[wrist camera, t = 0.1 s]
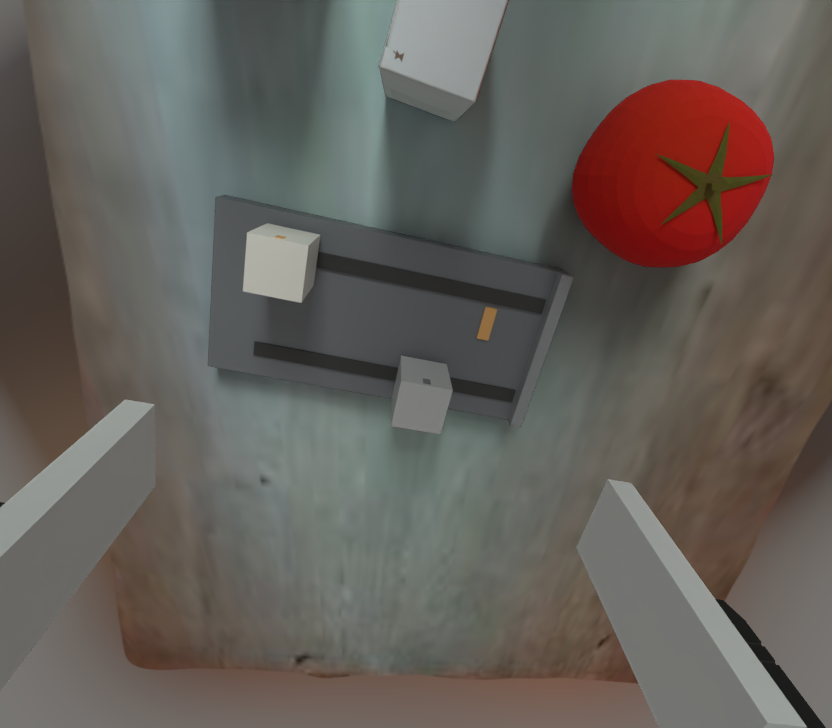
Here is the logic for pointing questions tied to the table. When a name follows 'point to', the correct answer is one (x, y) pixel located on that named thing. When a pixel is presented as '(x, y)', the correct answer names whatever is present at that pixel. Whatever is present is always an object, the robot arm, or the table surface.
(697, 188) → the tomato
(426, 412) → the fader
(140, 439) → the robot arm
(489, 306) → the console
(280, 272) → the block
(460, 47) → the small box
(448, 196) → the table surface
